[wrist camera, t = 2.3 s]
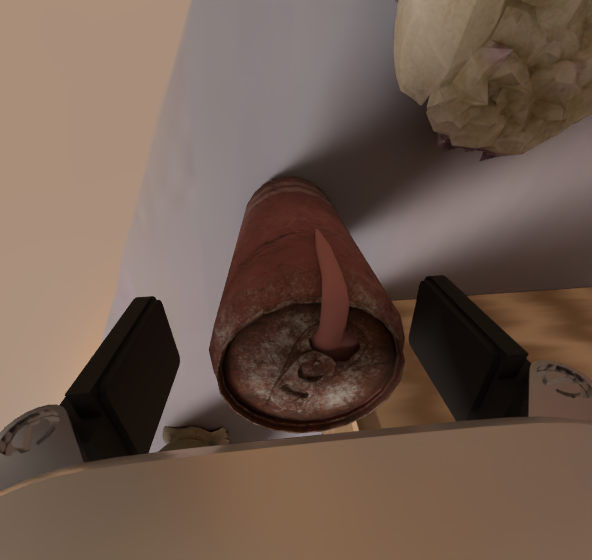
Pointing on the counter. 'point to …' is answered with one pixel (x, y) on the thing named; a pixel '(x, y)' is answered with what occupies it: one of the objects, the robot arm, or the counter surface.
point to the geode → (496, 69)
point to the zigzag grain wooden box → (517, 324)
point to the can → (303, 318)
